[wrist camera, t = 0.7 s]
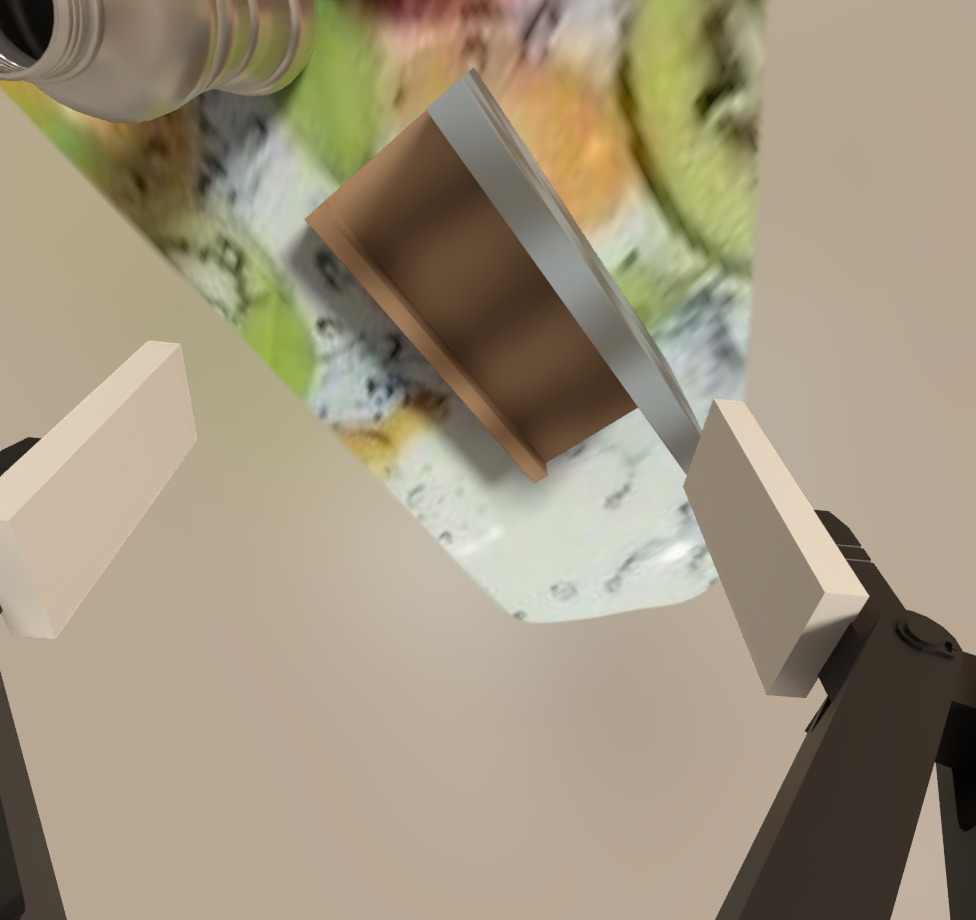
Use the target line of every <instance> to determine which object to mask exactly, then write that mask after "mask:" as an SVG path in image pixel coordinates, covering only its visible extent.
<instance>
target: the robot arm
mask: <svg viewBox="0 0 976 920" xmlns="http://www.w3.org/2000/svg"><path fill="white" fill-rule="evenodd" d="M196 441H197V435H196V430H195V423H194V418H193V412H192V407H191V400H190V394H189V389H188V383H187V377H186V371H185V366H184V359H183V354H182V348H181V344H178V343H168V342H159V341H147V342H146V343H145V344H144V345H143V346H142V347H141V348H140V349H138V350H137V351H136V352H135V353H134V354H133V355H132V356H131V357H130V358H129V359H128V360H127V361H125V362H124V363H123V364H122V365H121V366H120V367H119V368H118V369H117V370H116V371H115V372H113V374H111V375H110V376H109V377H108V378H107V379H106V380H105V381H104V382H103V383H102V384H101V385H99V386H98V387H97V388H96V389H95V390H94V391H93V392H92V393H91V394H90V395H89V396H87V397H86V398H85V399H84V400H83V401H82V402H81V403H80V404H79V405H78V406H77V407H76V408H74V409H73V410H72V411H71V412H70V413H69V414H68V415H67V416H66V417H65V418H64V419H63V420H61V421H60V422H59V423H58V424H57V425H56V426H55V427H54V428H53V429H52V430H50V431H49V432H48V433H47V434H46V435H45V436H44V437H43V438H30V437H28V438H26V439H24V440H22V441H20V442H18V443H16V444H14V445H12V446H10V447H7V448H5V449H3V450H2V451H0V614H1V613H2V615H3V618H4V620H5V622H6V624H7V626H8V628H9V631H10V633H11V635H12V636H25V637H37V638H50V639H56V638H57V636H58V635H59V633H60V632H61V631H62V629H63V628H64V627H65V625H66V624H67V622H68V621H69V620H70V618H71V617H72V615H73V614H74V613H75V611H76V610H77V608H78V607H79V606H80V604H81V603H82V601H83V600H84V599H85V597H86V596H87V594H88V593H89V592H90V590H91V589H92V587H93V586H94V585H95V583H96V582H97V580H98V579H99V577H100V576H101V575H102V573H103V572H104V570H105V569H106V568H107V566H108V565H109V563H110V562H111V561H112V559H113V558H114V556H115V555H116V554H117V552H118V551H119V549H120V548H121V546H122V545H123V544H124V542H125V541H126V540H127V538H128V537H129V535H130V534H131V532H132V531H133V530H134V528H135V527H136V525H137V524H138V522H139V521H140V520H141V518H142V517H143V516H144V514H145V513H146V511H147V510H148V509H149V507H150V506H151V504H152V503H153V502H154V500H155V499H156V497H157V496H158V495H159V493H160V492H161V490H162V489H163V488H164V486H165V484H166V483H167V482H168V480H169V479H170V478H171V476H172V475H173V473H174V472H175V471H176V469H177V468H178V466H179V465H180V464H181V462H182V461H183V459H184V458H185V457H186V455H187V454H188V452H189V451H190V449H191V448H192V447H193V445H194V444H195V443H196ZM683 487H684V490H685V492H686V495H687V497H688V500H689V502H690V505H691V507H692V510H693V512H694V515H695V517H696V520H697V522H698V525H699V527H700V530H701V532H702V535H703V537H704V540H705V542H706V545H707V547H708V550H709V552H710V555H711V557H712V560H713V562H714V565H715V567H716V570H717V572H718V575H719V577H720V580H721V582H722V585H723V587H724V589H725V592H726V594H727V597H728V599H729V602H730V604H731V607H732V609H733V612H734V614H735V617H736V619H737V622H738V624H739V627H740V629H741V632H742V634H743V637H744V639H745V641H746V644H747V647H748V649H749V652H750V654H751V657H752V659H753V662H754V664H755V666H756V669H757V672H758V674H759V677H760V679H761V681H762V684H763V686H764V689H765V692H766V694H767V695H775V696H787V697H800V698H801V697H802V698H806V697H807V695H808V694H809V692H810V690H811V689H812V687H813V686H814V684H815V682H816V681H817V679H818V678H819V679H820V681H821V683H822V685H823V687H824V689H825V691H826V693H827V694H828V696H827V698H826V699H825V701H824V702H823V704H822V705H821V707H820V709H819V710H818V712H817V713H816V715H815V716H814V718H813V719H812V721H811V722H810V724H809V725H808V727H807V728H806V730H805V731H806V732H807V735H806V737H805V739H804V741H803V743H802V745H801V747H800V749H799V751H798V753H797V755H796V758H795V760H794V762H793V764H792V766H791V768H790V770H789V772H788V774H787V776H786V778H785V780H784V782H783V784H782V786H781V788H780V790H779V792H778V794H777V796H776V798H775V800H774V802H773V804H772V806H771V808H770V810H769V812H768V814H767V816H766V818H765V820H764V822H763V824H762V826H761V828H760V830H759V832H758V834H757V836H756V838H755V840H754V842H753V844H752V846H751V848H750V850H749V852H748V854H747V857H746V858H745V860H744V863H743V864H742V867H741V869H740V871H739V873H738V875H737V877H736V879H735V881H734V883H733V885H732V887H731V889H730V891H729V893H728V895H727V897H726V899H725V901H724V903H723V905H722V907H721V909H720V911H719V913H718V915H717V917H716V919H715V920H890V918H891V915H892V911H893V908H894V904H895V901H896V897H897V894H898V890H899V886H900V883H901V879H902V876H903V872H904V869H905V865H906V862H907V858H908V855H909V851H910V847H911V844H912V840H913V837H914V833H915V830H916V826H917V823H918V819H919V815H920V812H921V808H922V805H923V801H924V798H925V794H926V791H927V787H928V783H929V780H930V776H931V772H932V769H933V766H934V762H935V763H936V769H937V780H938V791H939V801H940V812H941V823H942V834H943V844H944V855H945V866H946V877H947V887H948V897H949V908H950V919H951V920H976V656H975V655H972V654H969V653H966V652H963V651H962V649H961V647H960V646H959V644H958V643H957V641H956V639H955V638H954V637H953V636H952V635H951V634H950V633H949V632H948V631H947V630H946V629H945V628H944V627H942V626H941V625H939V624H938V623H936V622H934V621H933V620H931V619H930V618H928V617H926V616H923V615H921V614H918V613H916V612H913V611H909V610H906V609H905V608H904V606H903V605H902V603H901V602H900V601H899V599H898V598H897V596H896V595H895V594H894V592H893V590H892V589H891V588H890V586H889V585H888V583H887V582H886V581H885V579H884V578H883V576H882V575H881V573H880V572H879V571H878V569H877V567H876V566H875V565H874V563H871V559H870V557H869V556H868V554H867V553H866V552H865V550H864V549H861V544H860V543H859V542H858V540H857V539H856V537H855V536H854V534H853V533H852V532H851V530H850V529H849V528H848V527H847V526H846V525H845V524H844V523H843V522H841V521H840V520H839V519H837V518H836V517H835V516H834V515H833V514H832V513H830V512H829V511H820V510H813V509H812V507H811V505H810V504H809V503H808V501H807V499H806V498H805V496H804V495H803V493H802V492H801V490H800V488H799V487H798V485H797V484H796V482H795V481H794V479H793V478H792V476H791V475H790V473H789V471H788V470H787V468H786V467H785V465H784V464H783V462H782V461H781V459H780V458H779V456H778V454H777V453H776V451H775V450H774V448H773V447H772V445H771V444H770V442H769V441H768V439H767V438H766V436H765V435H764V433H763V431H762V430H761V428H760V427H759V425H758V424H757V422H756V420H755V419H754V417H753V416H752V414H751V413H750V411H749V410H748V408H747V407H746V405H745V404H744V402H741V401H731V400H721V399H713V402H712V405H711V408H710V411H709V414H708V416H707V419H706V422H705V425H704V428H703V431H702V434H701V437H700V439H699V442H698V445H697V448H696V451H695V454H694V457H693V459H692V462H691V465H690V468H689V471H688V474H687V477H686V480H685V482H684V485H683ZM0 920H67V919H66V915H65V911H64V908H63V904H62V900H61V897H60V893H59V889H58V885H57V882H56V877H55V874H54V870H53V866H52V863H51V860H50V855H49V851H48V848H47V844H46V840H45V837H44V833H43V829H42V825H41V821H40V818H39V814H38V810H37V807H36V803H35V799H34V795H33V792H32V788H31V784H30V780H29V777H28V773H27V769H26V765H25V762H24V758H23V754H22V751H21V747H20V743H19V739H18V736H17V732H16V728H15V725H14V721H13V717H12V713H11V709H10V706H9V702H8V698H7V695H6V691H5V687H4V684H3V680H2V676H1V672H0Z"/></svg>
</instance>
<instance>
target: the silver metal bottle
mask: <svg viewBox="0 0 976 920" xmlns="http://www.w3.org/2000/svg"><path fill="white" fill-rule="evenodd" d="M317 29H318V23H317V9H316V4H315V0H0V80H8V81H22V80H23V81H27V82H31V83H33V84H34V85H35V86H36V87H37V88H38V89H40V90H41V91H43V92H44V93H45V94H47V95H48V96H50V97H51V98H53V99H54V100H55V101H57V102H59V103H61V104H63V105H65V106H67V107H69V108H71V109H73V110H75V111H78V112H80V113H83V114H86V115H89V116H91V117H95V118H99V119H102V120H106V121H109V122H116V123H129V124H132V123H139V122H145V121H151V120H153V119H155V118H158V117H160V116H163V115H165V114H168V113H170V112H172V111H175V110H177V109H179V108H180V107H181V106H183V105H184V104H186V103H187V102H189V101H190V100H192V99H193V98H195V97H196V96H198V95H199V94H201V93H203V92H206V91H208V90H212V89H218V90H221V91H224V92H228V93H231V94H236V95H242V96H254V97H257V96H263V95H269V94H272V93H274V92H277V91H279V90H281V89H283V88H284V87H286V86H287V85H288V84H290V83H291V82H292V81H293V80H294V79H295V78H296V77H297V76H298V75H299V73H300V72H301V71H302V70H303V69H304V67H305V66H306V64H307V62H308V60H309V59H310V57H311V55H312V52H313V49H314V46H315V43H316V36H317Z"/></svg>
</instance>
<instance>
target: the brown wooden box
mask: <svg viewBox="0 0 976 920" xmlns="http://www.w3.org/2000/svg"><path fill="white" fill-rule="evenodd" d="M305 220H306V221H307V223H308V224H309V225H310V226H311V227H312V228H313V229H314V231H315V232H316V233H317V234H318V235H319V236H320V237H321V239H322V240H323V241H324V242H325V243H326V244H327V246H328V247H329V248H330V249H331V250H332V251H333V252H334V254H335V255H336V256H337V257H338V258H339V259H340V261H341V262H342V263H343V264H344V265H345V266H346V267H347V269H348V270H349V271H350V272H351V273H352V274H353V275H354V277H355V278H356V279H357V280H358V281H359V282H360V284H361V285H362V286H363V287H364V288H365V289H366V290H367V292H368V293H369V294H370V295H371V296H372V297H373V298H374V300H375V301H376V302H377V303H378V304H379V305H380V307H381V308H382V309H383V310H384V311H385V312H386V313H387V315H388V316H389V317H390V318H391V319H392V320H393V321H394V323H395V324H396V325H397V326H398V327H399V328H400V330H401V331H402V332H403V333H404V334H405V335H406V336H407V338H408V339H409V340H410V341H411V342H412V343H413V344H414V346H415V347H416V348H417V349H418V350H419V351H420V353H421V354H422V355H423V356H424V357H425V358H426V359H427V361H428V362H429V363H430V364H431V365H432V366H433V367H434V369H435V370H436V371H437V372H438V373H439V374H440V376H441V377H442V378H443V379H444V380H445V381H446V382H447V384H448V385H449V386H450V387H451V388H452V389H453V390H454V392H455V393H456V394H457V395H458V396H459V397H460V399H461V400H462V401H463V402H464V403H465V404H466V405H467V407H468V408H469V409H470V410H471V411H472V412H473V413H474V415H475V416H476V417H477V418H478V419H479V420H480V422H481V423H482V424H483V425H484V426H485V427H486V428H487V430H488V431H489V432H490V433H491V434H492V435H493V436H494V438H495V439H496V440H497V441H498V442H499V443H500V445H501V446H502V447H503V448H504V449H505V450H506V451H507V453H508V454H509V455H510V456H511V457H512V458H513V459H514V461H515V462H516V463H517V464H518V465H519V466H520V468H521V469H522V470H523V471H524V472H525V473H526V474H527V476H528V477H529V478H530V479H531V480H532V481H533V483H535V482H537V481H539V480H541V479H542V478H544V477H546V476H547V467H546V462H548V461H549V460H551V459H553V458H554V457H556V456H558V455H559V454H561V453H563V452H564V451H566V450H568V449H569V448H571V447H573V446H574V445H576V444H578V443H579V442H581V441H583V440H584V439H586V438H588V437H589V436H591V435H593V434H594V433H596V432H598V431H599V430H601V429H603V428H604V427H606V426H608V425H609V424H611V423H613V422H614V421H616V420H618V419H619V418H621V417H623V416H624V415H626V414H628V413H629V412H631V411H633V410H634V409H636V408H639V409H640V410H641V412H642V413H643V415H644V416H645V417H646V419H647V420H648V422H649V423H650V425H651V426H652V427H653V429H654V430H655V432H656V433H657V434H658V436H659V437H660V439H661V440H662V441H663V443H664V444H665V446H666V447H667V448H668V450H669V451H670V453H671V454H672V455H673V457H674V458H675V460H676V461H677V462H678V464H679V465H680V467H681V468H682V469H683V471H684V472H685V474H686V475H687V474H688V471H689V468H690V465H691V462H692V459H693V457H694V454H695V451H696V448H697V445H698V442H699V439H700V437H701V434H702V430H701V428H700V426H699V424H698V422H697V420H696V418H695V416H694V414H693V412H692V410H691V408H690V406H689V404H688V402H687V400H686V398H685V396H684V394H683V392H682V390H681V388H680V386H679V384H678V382H677V380H676V378H675V376H674V374H673V372H672V369H671V367H670V365H669V363H668V362H667V360H666V359H665V357H664V356H663V354H662V353H661V351H660V350H659V348H658V346H657V345H656V343H655V342H654V340H653V339H652V337H651V336H650V334H649V333H648V331H647V330H646V328H645V327H644V325H643V324H642V322H641V321H640V319H639V318H638V316H637V315H636V313H635V312H634V310H633V309H632V307H631V305H630V304H629V302H628V301H627V299H626V298H625V296H624V295H623V293H622V292H621V290H620V289H619V287H618V286H617V284H616V283H615V281H614V280H613V278H612V277H611V275H610V274H609V272H608V271H607V269H606V268H605V266H604V265H603V263H602V261H601V260H600V258H599V257H598V255H597V254H596V252H595V251H594V249H593V248H592V246H591V245H590V243H589V242H588V240H587V239H586V237H585V236H584V234H583V233H582V231H581V230H580V228H579V227H578V225H577V224H576V222H575V220H574V219H573V217H572V216H571V214H570V213H569V211H568V210H567V208H566V207H565V205H564V204H563V202H562V201H561V199H560V198H559V196H558V195H557V193H556V192H555V190H554V189H553V187H552V186H551V184H550V183H549V181H548V179H547V178H546V176H545V175H544V173H543V172H542V170H541V169H540V167H539V166H538V164H537V163H536V161H535V160H534V158H533V157H532V155H531V154H530V152H529V151H528V149H527V148H526V146H525V145H524V143H523V142H522V140H521V139H520V137H519V135H518V134H517V132H516V131H515V129H514V128H513V126H512V125H511V123H510V122H509V120H508V119H507V117H506V116H505V114H504V113H503V111H502V110H501V108H500V107H499V105H498V104H497V102H496V101H495V99H494V98H493V96H492V94H491V93H490V91H489V90H488V88H487V87H486V85H485V84H484V82H483V81H482V79H481V78H480V76H479V75H478V73H477V72H476V70H475V69H474V68H473V69H472V70H470V71H469V72H468V73H467V74H466V75H464V76H463V77H462V78H461V79H459V80H458V81H457V82H456V83H455V84H454V85H453V86H451V87H450V88H449V89H448V90H447V91H446V92H445V93H444V94H443V95H441V96H440V97H439V98H438V99H437V100H436V101H435V102H434V103H433V104H431V105H430V106H429V107H428V108H427V109H426V111H425V112H424V113H423V114H421V115H420V116H419V117H418V118H417V119H416V120H415V121H414V122H413V123H411V124H410V125H409V126H408V127H407V128H406V129H405V130H404V131H403V132H401V133H400V134H399V135H398V136H397V137H396V138H395V139H394V140H392V141H391V142H390V143H389V144H388V145H387V146H386V147H385V148H384V149H382V150H381V151H380V152H379V153H378V154H377V155H376V156H375V157H374V158H372V159H371V160H370V161H369V162H368V163H367V164H366V165H365V166H363V167H362V168H361V169H360V170H359V171H358V172H357V173H356V174H355V175H353V176H352V177H351V178H350V179H349V180H348V181H347V182H346V183H345V184H343V185H342V186H341V187H340V188H339V189H338V190H337V191H336V192H334V193H333V194H332V195H331V196H330V197H329V198H328V199H327V200H326V201H324V202H323V203H322V204H321V205H320V206H319V207H318V208H317V209H315V210H314V211H313V212H312V213H311V214H310V215H309V216H308V217H306V218H305Z"/></svg>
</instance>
